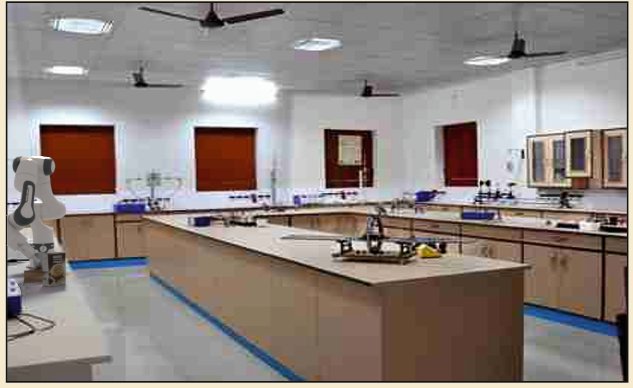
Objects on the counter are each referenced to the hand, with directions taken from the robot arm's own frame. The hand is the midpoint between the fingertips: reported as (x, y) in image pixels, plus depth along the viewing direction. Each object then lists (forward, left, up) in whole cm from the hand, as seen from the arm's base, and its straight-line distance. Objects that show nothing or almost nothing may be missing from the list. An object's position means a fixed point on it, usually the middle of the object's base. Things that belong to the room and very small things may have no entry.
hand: (39, 260), depth 315 cm
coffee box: (+19, +7, -10) cm, 23 cm away
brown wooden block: (+1, 0, -10) cm, 10 cm away
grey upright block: (0, 0, -7) cm, 7 cm away
